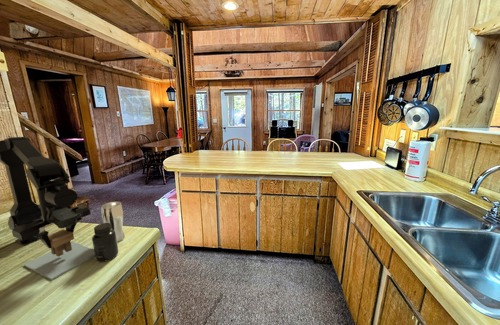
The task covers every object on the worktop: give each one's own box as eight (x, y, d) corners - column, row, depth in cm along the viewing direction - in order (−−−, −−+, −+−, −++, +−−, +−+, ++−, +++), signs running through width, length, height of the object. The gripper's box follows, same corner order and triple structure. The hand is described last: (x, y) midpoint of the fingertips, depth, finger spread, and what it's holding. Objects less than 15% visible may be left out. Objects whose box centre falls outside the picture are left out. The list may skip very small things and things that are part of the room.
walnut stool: (47, 254, 70) (43, 237, 68) (66, 245, 75) (63, 229, 73) (57, 258, 68) (53, 241, 67) (76, 249, 73) (73, 232, 72)
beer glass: (116, 245, 80) (111, 209, 77) (101, 242, 82) (95, 207, 78) (129, 235, 87) (125, 202, 84) (115, 233, 88) (111, 200, 85)
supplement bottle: (105, 249, 78) (100, 220, 75) (122, 250, 77) (118, 221, 75) (90, 262, 71) (85, 230, 68) (109, 263, 71) (105, 231, 68)
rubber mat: (23, 266, 69) (23, 264, 68) (72, 242, 81) (72, 241, 81) (52, 280, 63) (51, 278, 63) (99, 253, 76) (99, 251, 75)
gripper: (26, 218, 56) (37, 267, 59) (97, 194, 73) (103, 234, 76) (5, 210, 60) (17, 257, 63) (77, 190, 77) (84, 228, 80)
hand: (60, 243), depth 71 cm, fingers closed on walnut stool, 5 cm apart
